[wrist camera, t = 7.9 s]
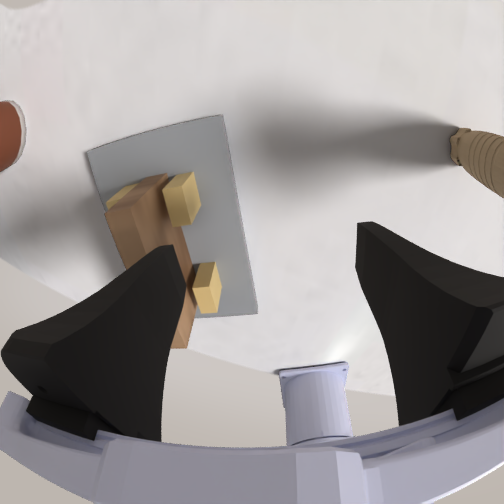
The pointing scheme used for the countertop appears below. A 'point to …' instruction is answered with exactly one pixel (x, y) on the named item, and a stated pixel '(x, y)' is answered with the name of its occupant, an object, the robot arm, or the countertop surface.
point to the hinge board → (190, 204)
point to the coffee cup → (11, 133)
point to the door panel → (153, 239)
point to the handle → (480, 157)
